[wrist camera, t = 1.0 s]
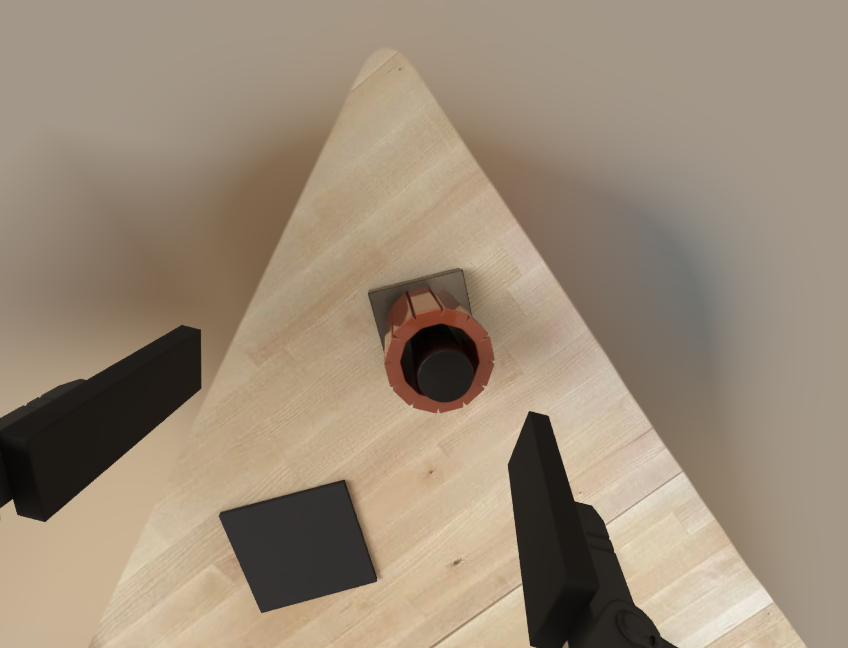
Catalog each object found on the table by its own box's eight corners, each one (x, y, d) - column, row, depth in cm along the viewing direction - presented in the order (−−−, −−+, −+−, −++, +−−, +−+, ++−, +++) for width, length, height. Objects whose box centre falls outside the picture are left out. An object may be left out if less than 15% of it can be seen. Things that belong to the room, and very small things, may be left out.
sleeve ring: (376, 298, 33) (373, 324, 24) (457, 278, 33) (482, 297, 24) (397, 373, 34) (400, 423, 26) (473, 354, 34) (502, 397, 26)
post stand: (368, 290, 34) (357, 327, 21) (459, 267, 34) (501, 291, 21) (392, 375, 36) (394, 456, 23) (477, 353, 36) (526, 421, 23)
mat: (220, 512, 38) (218, 515, 37) (344, 479, 38) (343, 482, 37) (262, 608, 41) (261, 613, 40) (377, 577, 41) (376, 581, 40)
